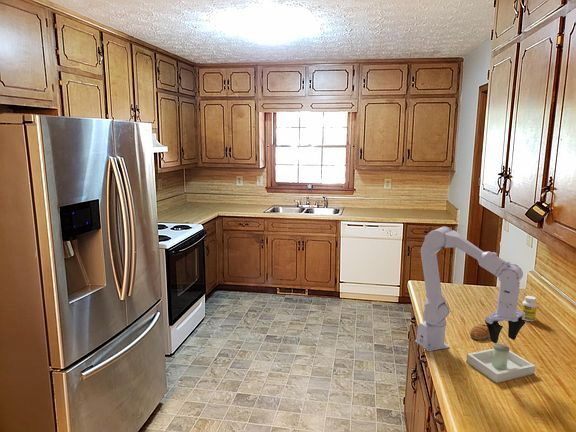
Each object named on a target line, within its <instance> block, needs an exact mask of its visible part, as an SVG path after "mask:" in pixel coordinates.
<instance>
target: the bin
mask: <svg viewBox="0 0 576 432" xmlns="http://www.w3.org/2000/svg"><path fill="white" fill-rule="evenodd" d="M493 352H494V348H491V349H484V350H478V351H474V352H469V353H468V352H467V353H466V359H465V361H466V363H467V364H469V365H470V366H471V367H473V368H474V369H476V370H477V371H479V372H480V373H482V374H483V375H484V376H486V378H489V379H490V380H492V381H493V382H494V383H495V384H497V383H501V382H505V381H506V382H507V381H511V380H515V379H519V378H524V377H527V376H532V375H535V372H536V365H535V364H533V363H532V362H530V361H528V360H527V359H525V358H523V357H521V356H520V355H518V354H516V353H514V352H513V351H511V350H510V349H509V354H508V361H507V369H505V370H499V369H496V368H494V367H493V366H492V361H493Z"/></svg>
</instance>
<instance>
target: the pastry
mask: <svg viewBox="0 0 576 432" xmlns="http://www.w3.org/2000/svg"><path fill="white" fill-rule="evenodd" d="M469 336H470V338H471V339H475V340H477V341H481V340H486V339H488V338H489V337H490V334H489V330H488V327H487V325H486V323H485V324H484V323H478V324H476V325H475V326H473V327H472V328H471V329H470V334H469Z"/></svg>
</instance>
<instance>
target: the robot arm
mask: <svg viewBox="0 0 576 432" xmlns="http://www.w3.org/2000/svg"><path fill="white" fill-rule="evenodd" d="M443 247H444V248H446V249H447V248H456V249H457V250H460V251H462V252H463V253H465V254H467V255H468V256H471V257H472V258H473V259H475V260H477V263H478V265H479V267H481V268H483V269H485V270H486V271H487V272H490V273H491V274H492V275H494V276H495V277H497V278H498V281H499V282H500V284H499V288H498V289H499V290H498V297H497V305H496V311H495V312H493V313H491V314H490V315H489V314H488V315H486V316H485V320H484V322H485V325H487V327H488V330H489V334H490V336H489V337H490V342H492V343H494V344H498V341H499V336H500V333H501V331H502V329H503V327H504V326H502V325H501V324H500V323H499V322H503V321H507V323H508V330H507V335H508V338H509V339H511V340H512V341H515V340H516V338H517V336H518V334H519V333H520V330H521V329H522V327H524V326H525V325H526V320H523V318H525V313H524V312H522V311H521V310H517V309H518V303H519V295H520V285H521V284H520V281H521V279H523V277H524V271H523V269H522V268H521V267H520V266H518V265H517V264H515V263H511V262H510V261H506V260H504V259H503V258H501V257H499V256H498V253H497V252H495V251H493V252H492V251H483V250H482V249H480V248H479V247H478V246H476V245H475V244H473V243H472V242H470V240H468V239H466V238H465V237H464V236H462V235H461V234H459V233H458V232H457V231H456V230H454V229H451V228H450V227H448V226H441V227H439V228H436V229H433V230H431V231H429V232H428V233H427V234H426V235H425V236H424V241H423V243H422V246H421V248H420V257H421V258H420V259H421V266H422V271H423V272H422V273H423V278H424V279H423V280H424V286H425V294H426V299H425V302H424V306H423V307H424V311H423V312H422V315H423V320H424V321H423V322H421V323H419V324H418V325H417V330H416V339H415V340H414V342H415V343H417V344H418V345H419V346H420V347H422V348H423V349H424V350H425V351H427V352H431V351H438V350H443V349H448V348H450V345H449V344H447V343H446V342H445V338H446V327H447V321H446V317H448V316H449V314H450V307H449V306H448V304H447V302H446V301H447V300H446V298H445V297H444V296H443V293H442V285H441V279H440V271H439V263H438V256H437V254H438V252H439V251H440V250H441V249H443Z"/></svg>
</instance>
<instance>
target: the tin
mask: <svg viewBox="0 0 576 432" xmlns="http://www.w3.org/2000/svg"><path fill="white" fill-rule="evenodd" d="M493 349H494V352H493V361H492V366H493V367H494V368H496V369H499V370H505V369H507V361H508V354H509V350H510V347H509V346H507V345H506V344H502V343H494V344H493Z"/></svg>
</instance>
